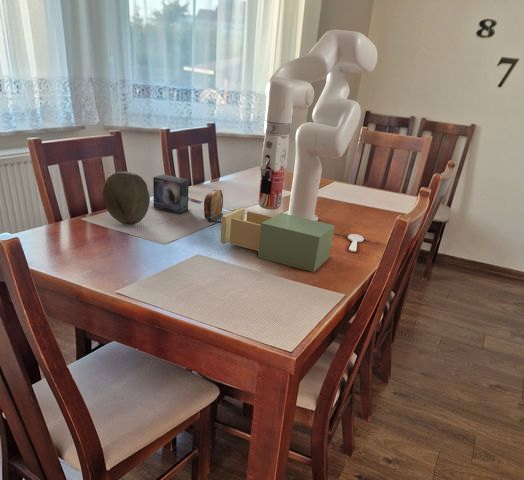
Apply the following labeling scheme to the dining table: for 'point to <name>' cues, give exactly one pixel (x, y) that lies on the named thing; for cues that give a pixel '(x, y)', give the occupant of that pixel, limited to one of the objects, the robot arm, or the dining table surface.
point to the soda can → (272, 191)
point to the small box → (170, 193)
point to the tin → (213, 203)
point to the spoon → (354, 241)
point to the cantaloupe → (126, 197)
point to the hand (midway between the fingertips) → (270, 190)
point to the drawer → (240, 228)
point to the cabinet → (295, 241)
